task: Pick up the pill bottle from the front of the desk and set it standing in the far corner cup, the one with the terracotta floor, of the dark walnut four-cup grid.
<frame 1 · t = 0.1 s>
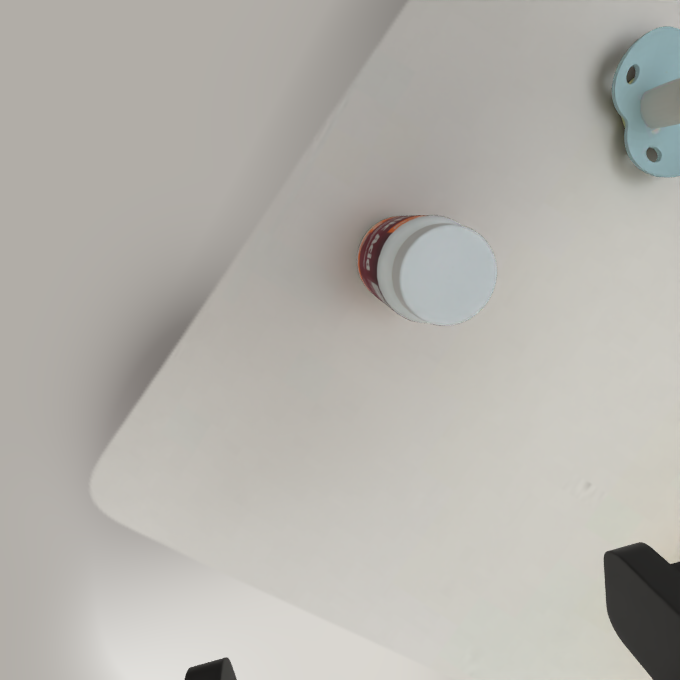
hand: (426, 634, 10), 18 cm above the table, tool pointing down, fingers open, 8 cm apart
pacifier: (649, 107, 26), on the table
pill bottle: (395, 259, 27), on the table
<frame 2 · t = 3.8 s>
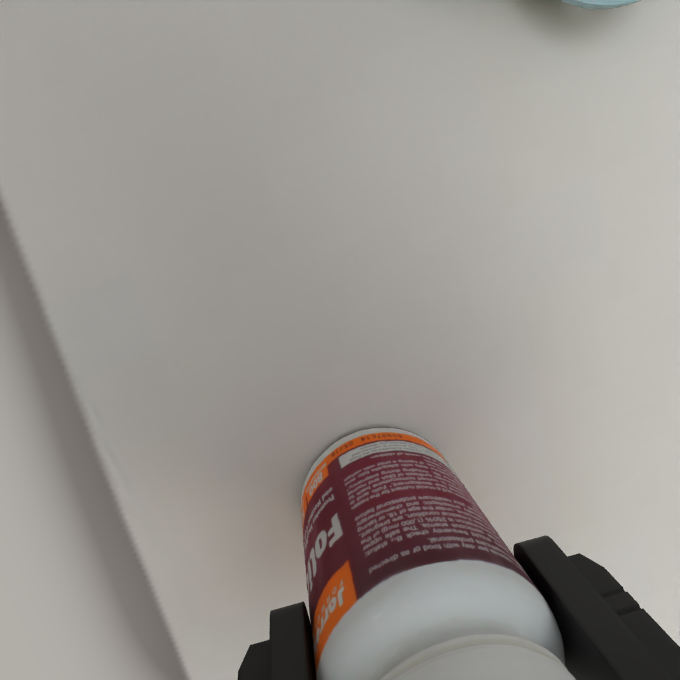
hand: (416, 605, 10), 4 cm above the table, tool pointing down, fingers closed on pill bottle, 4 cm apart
pill bottle: (374, 490, 15), on the table, touching gripper
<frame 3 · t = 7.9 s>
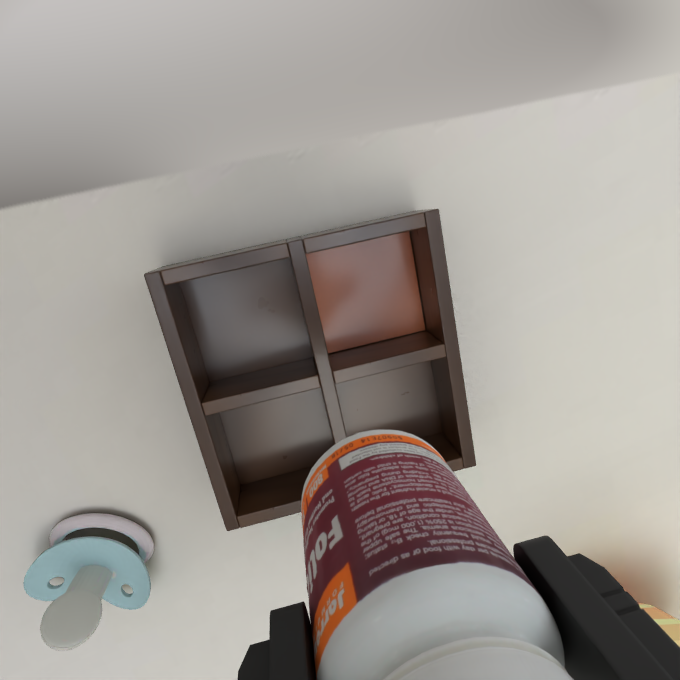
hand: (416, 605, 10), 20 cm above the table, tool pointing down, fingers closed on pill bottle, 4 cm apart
potted cactus: (585, 628, 39), on the table
grid: (320, 358, 30), on the table
pacifier: (104, 547, 31), on the table
pill bottle: (374, 492, 15), point 16 cm above the table, touching gripper
when the fingers open (5 cm above the table, at t = 12.1 s): pill bottle stays where it is, resting on grid.
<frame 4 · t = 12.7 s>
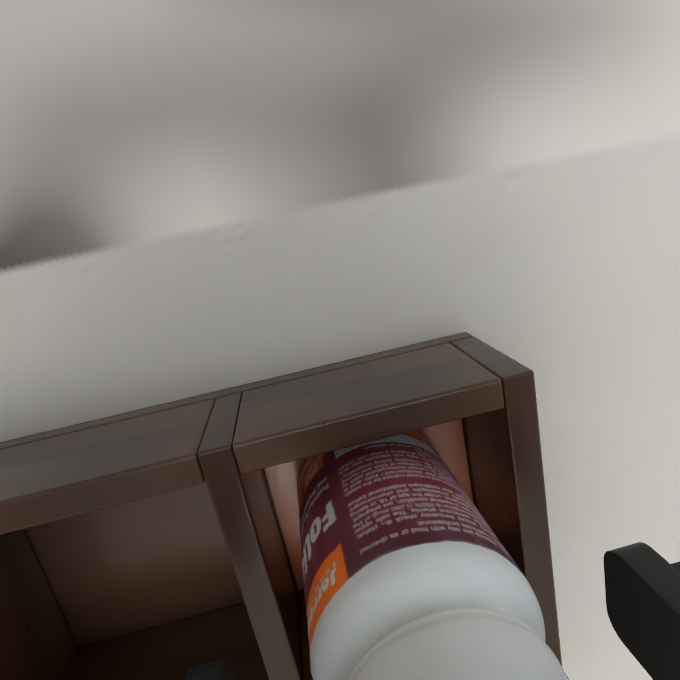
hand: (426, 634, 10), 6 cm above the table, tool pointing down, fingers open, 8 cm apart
grid: (287, 587, 17), on the table
pill bottle: (369, 481, 15), point 1 cm above the table, touching grid
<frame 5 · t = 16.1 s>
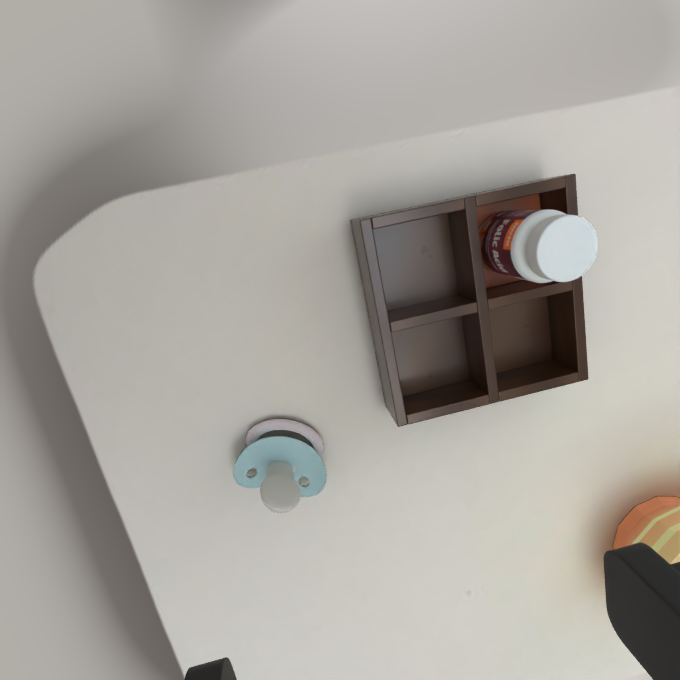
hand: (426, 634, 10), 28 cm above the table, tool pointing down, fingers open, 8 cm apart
potted cactus: (653, 534, 46), on the table
grid: (461, 297, 38), on the table
pacifier: (283, 449, 39), on the table
pill bottle: (501, 242, 36), point 1 cm above the table, touching grid
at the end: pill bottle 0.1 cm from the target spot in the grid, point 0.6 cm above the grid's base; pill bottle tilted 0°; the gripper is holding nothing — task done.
